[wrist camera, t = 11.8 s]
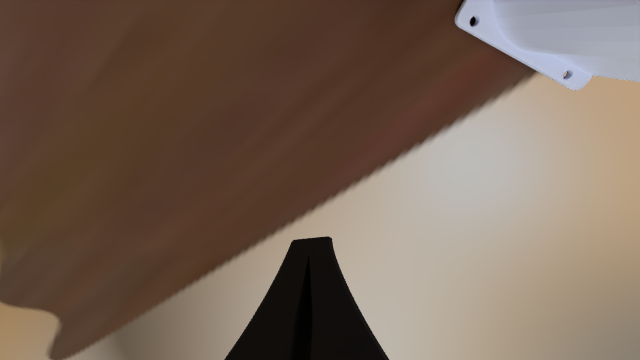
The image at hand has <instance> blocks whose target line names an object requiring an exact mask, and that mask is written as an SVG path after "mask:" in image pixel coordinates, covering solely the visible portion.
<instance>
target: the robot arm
mask: <svg viewBox="0 0 640 360" xmlns="http://www.w3.org/2000/svg"><path fill="white" fill-rule="evenodd" d="M473 16H474V17H475V19H476V21H475V24H474V25H473V26H472V27H471V26H470V19H471V18H472V17H473ZM455 23H456V25H457V26H458V27H459V28H461V29H463V30H465V31H466V32H468V33H470V34H472V35H473V36H475V37H477V38H479V39H481V40H482V41H484V42H486V43H488V44H490V45H491V46H493V47H495V48H497V49H499V50H500V51H502V52H504V53H506V54H508V55H509V56H511V57H513V58H515V59H516V60H518V61H520V62H522V63H524V64H525V65H527V66H529V67H531V68H533V69H534V70H536V71H538V72H540V73H542V74H543V75H545V76H547V77H549V78H551V79H552V80H554V81H556V82H558V83H560V84H561V85H563V86H565V87H567V88H568V89H573V90H578V89H581V88H582V87H583V86H585V85H586V83H587V82H588V81H589V80H590V79H591V77H593V75H595V76H601V77H609V78H615V79H622V80H629V81H637V82H640V0H464V1H463V3H462V5H461V7H460V8H459V10H458V12H457V14H456V16H455ZM566 71H567V75H566V76H565V77H564V78H563V75H564V73H565V72H566ZM225 360H389V359H388V357H387V355H386V354H385V352H384V351H383V349H382V348H381V346H380V344H379V343H378V341H377V339H376V338H375V336H374V335H373V333H372V331H371V329H370V328H369V326H368V324H367V322H366V321H365V319H364V317H363V315H362V313H361V312H360V310H359V308H358V306H357V304H356V302H355V300H354V298H353V296H352V294H351V292H350V290H349V288H348V286H347V283H346V281H345V279H344V277H343V274H342V272H341V270H340V267H339V264H338V262H337V259H336V256H335V253H334V249H333V243H332V238H330V237H317V238H308V239H298V240H293V241H292V242H291V245H290V247H289V250H288V252H287V254H286V257H285V259H284V261H283V263H282V265H281V267H280V269H279V271H278V273H277V275H276V277H275V279H274V281H273V283H272V285H271V286H270V288H269V290H268V292H267V294H266V296H265V298H264V299H263V301H262V303H261V304H260V306H259V307H258V309H257V311H256V312H255V315H254V316H253V318H252V319H251V321H250V322H249V324H248V326H247V327H246V329H245V330H244V332H243V333H242V335H241V336H240V338H239V339H238V341H237V342H236V344H235V345H234V347H233V348H232V350H231V351H230V352H229V354H228V355H227V357H226V358H225Z"/></svg>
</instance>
